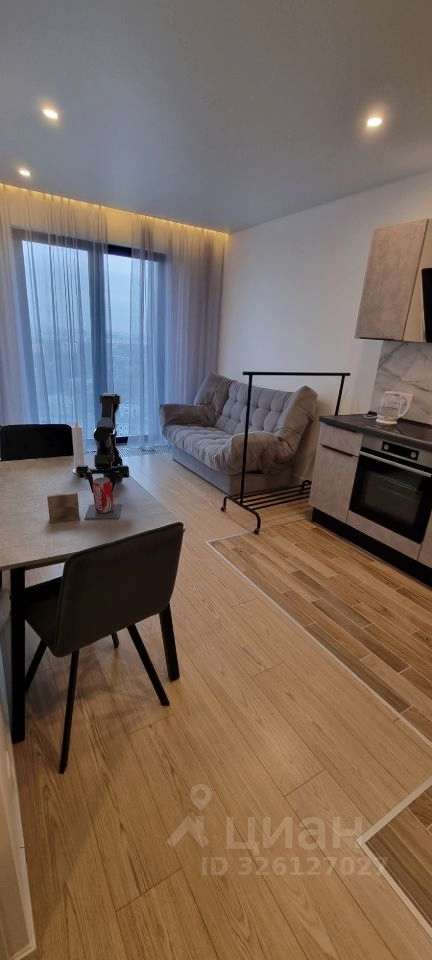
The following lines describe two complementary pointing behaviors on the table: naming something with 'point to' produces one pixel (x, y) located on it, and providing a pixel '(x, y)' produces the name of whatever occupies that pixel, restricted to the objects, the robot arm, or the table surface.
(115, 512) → the charcoal mat
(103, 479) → the soda can
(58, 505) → the walnut screen
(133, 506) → the table surface
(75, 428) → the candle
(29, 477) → the table surface
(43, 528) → the table surface
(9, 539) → the table surface
